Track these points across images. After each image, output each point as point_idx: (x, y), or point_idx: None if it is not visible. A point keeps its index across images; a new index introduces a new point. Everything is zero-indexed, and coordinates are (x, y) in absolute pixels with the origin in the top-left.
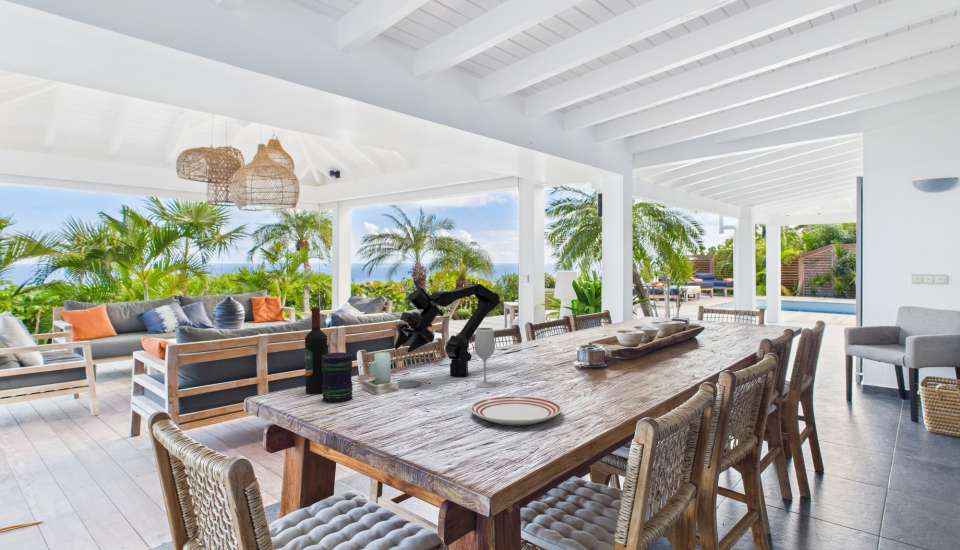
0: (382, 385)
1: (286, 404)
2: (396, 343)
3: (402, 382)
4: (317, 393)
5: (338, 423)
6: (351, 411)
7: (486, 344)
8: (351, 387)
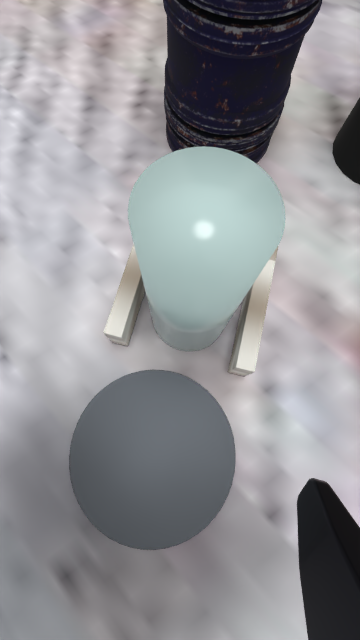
0: (132, 249)
1: None
2: (345, 544)
3: (196, 464)
4: (338, 133)
5: (18, 7)
6: (66, 77)
7: None
8: (190, 127)
